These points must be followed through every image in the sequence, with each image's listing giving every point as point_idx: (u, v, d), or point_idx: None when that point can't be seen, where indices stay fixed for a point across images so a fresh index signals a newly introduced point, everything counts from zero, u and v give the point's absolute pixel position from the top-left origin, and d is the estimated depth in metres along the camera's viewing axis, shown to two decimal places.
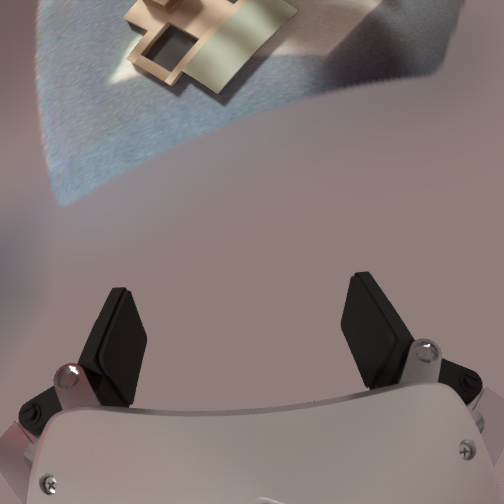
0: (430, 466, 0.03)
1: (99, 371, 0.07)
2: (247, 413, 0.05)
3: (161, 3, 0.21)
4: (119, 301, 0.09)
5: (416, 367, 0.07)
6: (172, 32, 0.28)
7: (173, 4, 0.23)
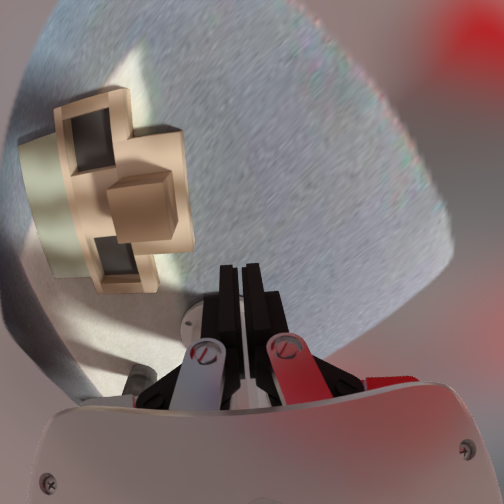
0: (430, 466, 0.03)
1: (234, 343, 0.08)
2: (247, 413, 0.05)
3: (112, 190, 0.20)
4: (234, 276, 0.11)
5: (287, 368, 0.07)
6: (111, 157, 0.24)
7: None
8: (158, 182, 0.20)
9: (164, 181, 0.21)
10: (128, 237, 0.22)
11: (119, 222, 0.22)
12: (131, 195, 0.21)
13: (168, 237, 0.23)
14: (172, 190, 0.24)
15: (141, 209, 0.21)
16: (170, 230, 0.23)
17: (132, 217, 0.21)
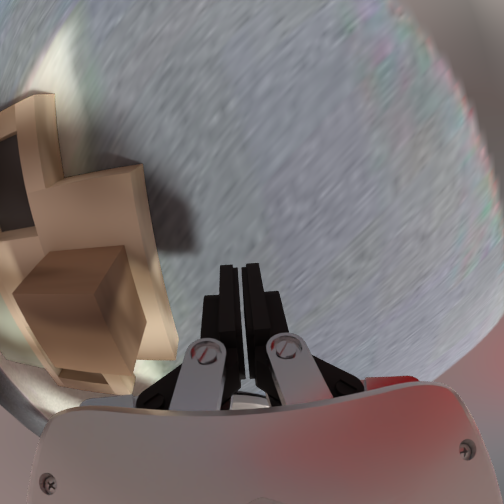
0: (430, 466, 0.03)
1: (235, 343, 0.08)
2: (247, 413, 0.05)
3: (20, 295, 0.09)
4: (234, 276, 0.11)
5: (287, 368, 0.07)
6: None
7: None
8: (87, 291, 0.09)
9: (100, 286, 0.10)
10: (65, 363, 0.11)
11: (46, 342, 0.10)
12: (49, 308, 0.09)
13: (126, 372, 0.11)
14: (127, 283, 0.13)
15: (71, 331, 0.10)
16: (128, 362, 0.11)
17: (62, 340, 0.10)
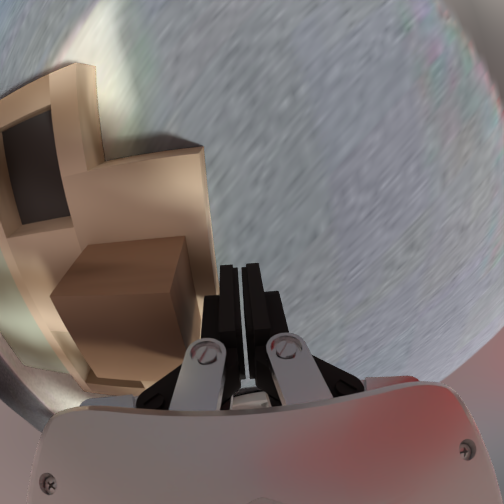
0: (430, 466, 0.03)
1: (235, 343, 0.08)
2: (247, 413, 0.05)
3: (60, 298, 0.08)
4: (234, 276, 0.11)
5: (287, 368, 0.07)
6: None
7: None
8: (159, 289, 0.09)
9: (173, 283, 0.09)
10: (113, 372, 0.10)
11: (90, 350, 0.10)
12: (102, 312, 0.09)
13: None
14: (188, 278, 0.12)
15: (128, 337, 0.09)
16: None
17: (114, 348, 0.10)
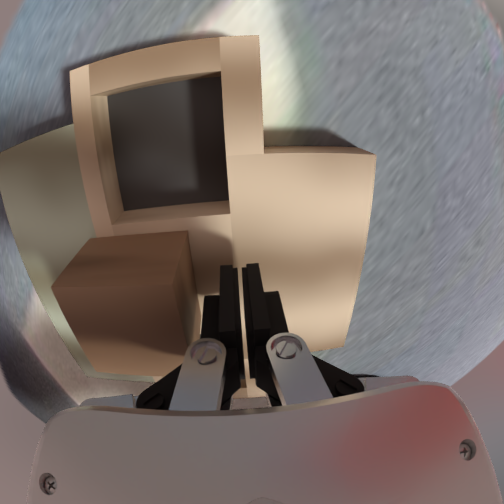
0: (430, 466, 0.03)
1: (235, 343, 0.08)
2: (247, 413, 0.05)
3: (62, 289, 0.08)
4: (234, 276, 0.11)
5: (287, 368, 0.07)
6: (205, 184, 0.13)
7: None
8: (161, 281, 0.09)
9: (175, 275, 0.09)
10: (112, 366, 0.10)
11: (90, 344, 0.10)
12: (103, 303, 0.09)
13: None
14: (190, 272, 0.12)
15: (128, 330, 0.09)
16: None
17: (114, 341, 0.10)
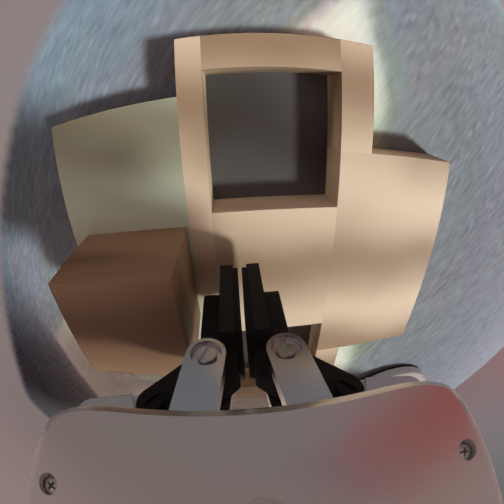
0: (430, 466, 0.03)
1: (235, 343, 0.08)
2: (247, 413, 0.05)
3: (59, 286, 0.08)
4: (234, 276, 0.11)
5: (287, 368, 0.07)
6: (303, 177, 0.13)
7: None
8: (160, 278, 0.09)
9: (174, 271, 0.09)
10: (110, 365, 0.10)
11: (88, 341, 0.10)
12: (101, 300, 0.09)
13: None
14: (189, 269, 0.12)
15: (126, 328, 0.09)
16: None
17: (112, 339, 0.10)
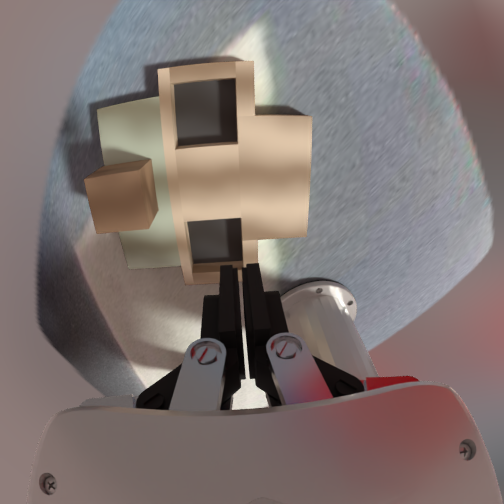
0: (430, 466, 0.03)
1: (234, 343, 0.08)
2: (247, 413, 0.05)
3: (89, 179, 0.19)
4: (234, 276, 0.11)
5: (287, 368, 0.07)
6: (224, 132, 0.24)
7: None
8: (134, 170, 0.19)
9: (141, 169, 0.20)
10: (106, 227, 0.21)
11: (97, 211, 0.20)
12: (108, 184, 0.19)
13: (145, 226, 0.22)
14: (151, 178, 0.23)
15: (118, 198, 0.20)
16: (148, 219, 0.21)
17: (110, 207, 0.20)
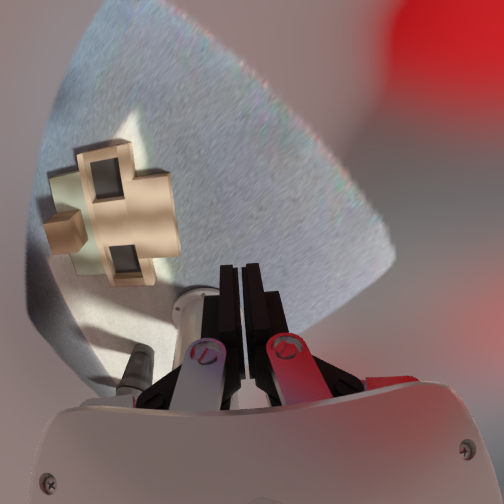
0: (430, 466, 0.03)
1: (234, 343, 0.08)
2: (247, 413, 0.05)
3: (45, 224, 0.31)
4: (234, 276, 0.11)
5: (287, 368, 0.07)
6: (121, 190, 0.36)
7: None
8: (66, 220, 0.31)
9: (70, 219, 0.32)
10: (57, 251, 0.33)
11: (51, 242, 0.32)
12: (55, 227, 0.31)
13: (76, 251, 0.34)
14: (80, 221, 0.35)
15: (60, 235, 0.32)
16: (77, 247, 0.33)
17: (57, 240, 0.32)
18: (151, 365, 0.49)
